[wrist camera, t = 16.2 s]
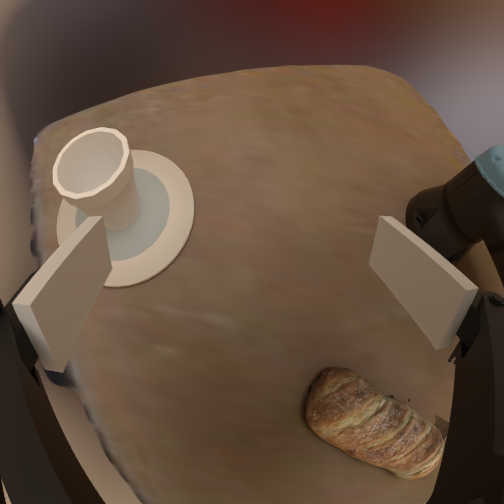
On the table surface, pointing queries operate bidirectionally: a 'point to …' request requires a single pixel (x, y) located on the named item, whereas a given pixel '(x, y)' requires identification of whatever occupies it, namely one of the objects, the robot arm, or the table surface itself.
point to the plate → (144, 222)
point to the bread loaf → (373, 425)
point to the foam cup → (99, 177)
